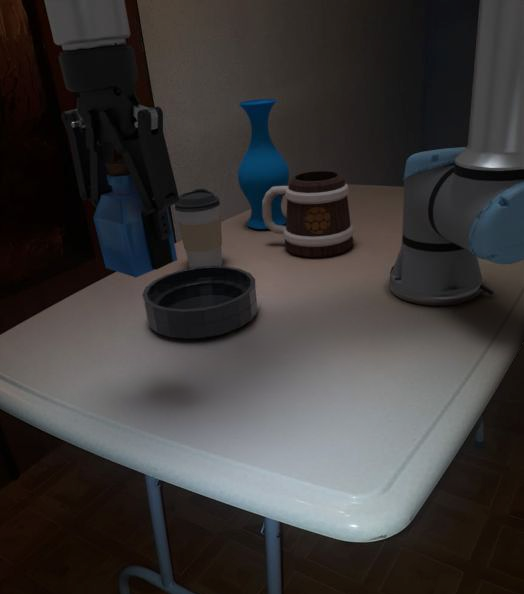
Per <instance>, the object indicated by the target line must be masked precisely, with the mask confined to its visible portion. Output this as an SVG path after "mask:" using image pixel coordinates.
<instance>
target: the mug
mask: <svg viewBox="0 0 524 594" xmlns="http://www.w3.org/2000/svg"><path fill="white" fill-rule="evenodd" d="M349 193H350V188H349V184H347V183H346V179H345V176H343V175H342V174H341V173H340V172H338V171H335V170H334V171H333V170H311V171H305V172H300V173H297V174H295V175H293V176H292V177H291V178H289V181H288V185H287V186H275V187H272V188H271V189H270V190H268V191H267V192H266V194H265V197H264V199H263V201H262V212H263V219H264V222H265V225H266V227H268V228H269V229H268V230H270V231H271V232H272V233H273V234H278V235H282V236H283V238H284V247H285V249H286V250H287V251H288V252H289V253H291V254H292V255H295V256H298V257H301V258H302V257H303V258H324V257H325V258H326V257H332V256H336V255H339V254H340V255H341V254H342V253H344V252H346V251H348V249H349V248H351V247H352V246H353V245H354V244H353V243H354V238H353V235H354V233H355V229H354V225H353V224H352V223H351V215H350V206H349V199H348V195H349ZM277 195H283V196H285V198H286V215H285V217H286V223H285V225H283V226H281V225H276V224H275V223H274V222H273V219H272V209H271V203H272V201H273V199H274V198H275V197H276V196H277Z"/></svg>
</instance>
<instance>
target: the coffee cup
mask: <svg viewBox="0 0 524 594" xmlns="http://www.w3.org/2000/svg"><path fill="white" fill-rule="evenodd" d="M220 205H221V202H220V198H219V197H218V196H217V195H215V194H214V193H213V191H210V190H207V189H206V188H196V189H193V190H192V191H189V192H184V193H181V194H180V195H179V202H178V203H176V204H174V210H175V211H176V216H177V222H178V227H179V231H180V237H181V241H182V244H183V248H184V250H185V254H186V258H187V262H188V267H189V268H194V267H204V266H223V254H222V253H223V252H222V245H223V238H222V217H221V214H220V213H221V211H220Z"/></svg>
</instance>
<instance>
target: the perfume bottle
mask: <svg viewBox="0 0 524 594" xmlns="http://www.w3.org/2000/svg"><path fill="white" fill-rule="evenodd" d="M105 165H106V167H107V169H108V171H109V174H108V175H107V180H108V184H109V185H111V186H112V190H113V192H110V193H106V194H103V195H101V198H100V201H99V204H98V206H97V209H96V208H95V212H94V215H93V221H94V225H95V231H96V235H97V238H98V242H99V245H100V249H101V255H102V257H103V262H104V266H105V268H106V269H108V270H111V271H114V272H117V273H121V274H124V275H127V276H130V277H133V278H138V277H142V276H143V275H145V274H148V273H151V272H153V271H155V270H156V269H152V265H151V260H150V255H149V250H148V245H147V240H146V236H145V231H144V226H143V221H142V216H141V214H142V213H141V211H144V210H146V209H145V207H144V204H143V202H142V200H141V198H140V195H139V193H138V191H137V188H136V186H135V184H134V181H133V179H132V177H131V175H130V172H129V170H128V168H127V165H126V163H125V161H124V159H116V160H115V159H114V161H111V162H108V163H106V164H105ZM153 200H155V198H154V197H153ZM169 212H170V211H169V209H168V208H167V216H168V222H169V228H170V237H169V243H170V248H171V254H172V259H173V262H171V263H169V264H172V263H174V262H177V261H178V256H177V250H176V245H175V239H174V233H173V227H172V223H171V217H170V213H169ZM169 264H168V265H169Z"/></svg>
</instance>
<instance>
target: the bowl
mask: <svg viewBox="0 0 524 594" xmlns="http://www.w3.org/2000/svg"><path fill="white" fill-rule="evenodd" d="M141 296H142V301H143V305H144V311H145V315H146V320H147V323H148V326H149V328H150V329H151V330H152V331H154V332H156V333H157V334H159V335H163V336H165V337H169V338H174V339H175V338H177V339H183V340H197V339H200V340H201V339H207V338H208V339H209V338H214V337H216V336H221V335H224V334H227V333H230V332H232V331H235V330H237V329H238V328H241V327H243V326H244V325H246V324H247V323H249V322H251V321H252V320H253V319H254V317H255V316H256V315H257V313H258V310H259V307H258V306H259V303H258V294H257V283H256V278H255V277H254V276H253V275H252V274H251V272H249V271H247V270H244V269H242V268H238V267H233V266H229V265H227V266H226V265H225V266H224V265H221V266H204V267H194V268H190V267H189V268H184V269H180V270H176V271H174V272H171V273H167V274H164V275H162V276H160V277H159V278H157V279H155V280H153V281H152V282H151V283H149V284H148V285H147V286H146V287H145V288H144V290H143V292H142V294H141Z"/></svg>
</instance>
